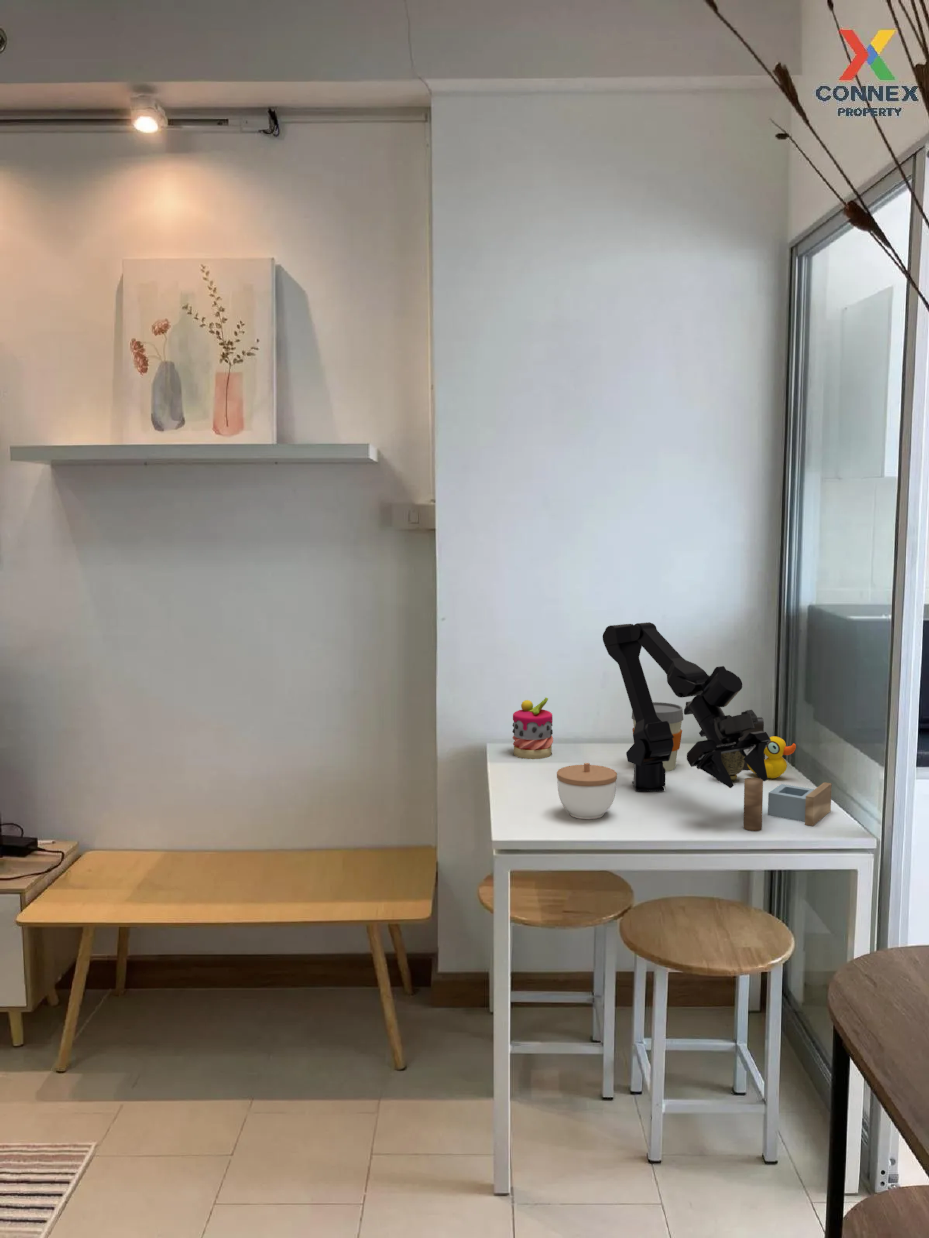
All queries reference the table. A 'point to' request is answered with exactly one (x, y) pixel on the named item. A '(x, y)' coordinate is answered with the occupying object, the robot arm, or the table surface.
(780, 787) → the socket block
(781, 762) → the duckling
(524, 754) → the cake
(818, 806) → the backstop board
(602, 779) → the lidded bowl
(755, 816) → the dowel
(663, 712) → the reusable coffee cup
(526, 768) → the table surface
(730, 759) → the cup
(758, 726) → the phone stand
